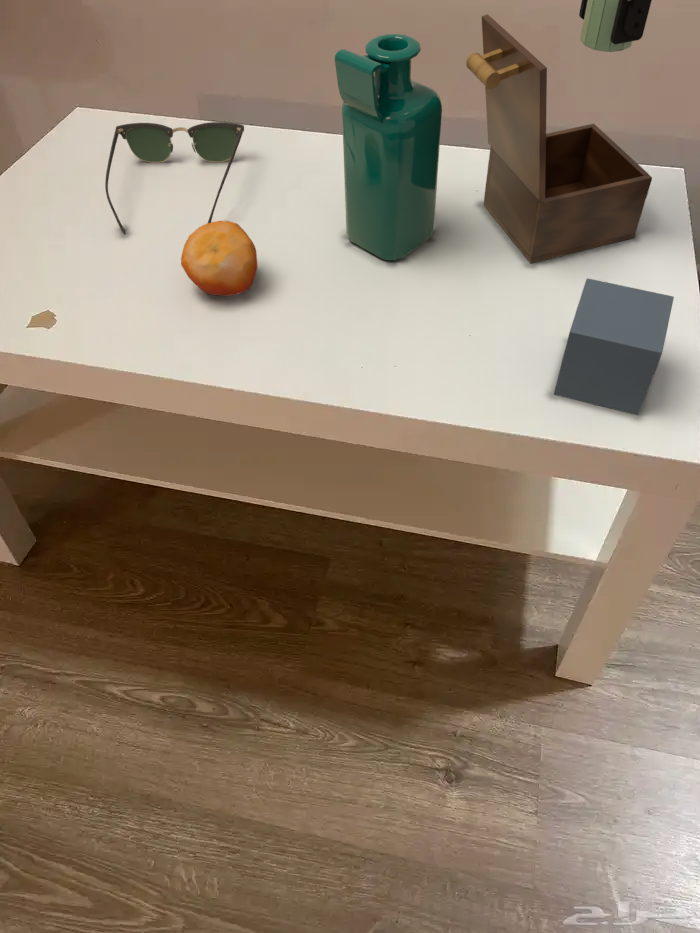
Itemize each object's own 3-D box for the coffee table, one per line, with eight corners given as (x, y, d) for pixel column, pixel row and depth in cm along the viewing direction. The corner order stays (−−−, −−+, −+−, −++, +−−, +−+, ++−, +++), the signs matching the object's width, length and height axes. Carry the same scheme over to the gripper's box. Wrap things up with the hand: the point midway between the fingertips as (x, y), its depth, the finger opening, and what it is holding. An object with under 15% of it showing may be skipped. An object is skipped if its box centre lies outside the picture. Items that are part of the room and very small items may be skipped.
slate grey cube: (650, 359, 78) (674, 296, 72) (638, 415, 74) (662, 352, 68) (570, 341, 80) (586, 277, 74) (553, 394, 76) (569, 331, 69)
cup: (635, 33, 79) (654, -40, 74) (627, 55, 76) (646, -20, 71) (585, 26, 80) (600, -46, 75) (576, 47, 77) (590, -26, 72)
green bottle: (387, 206, 96) (390, 13, 79) (440, 234, 92) (455, 38, 75) (331, 242, 92) (320, 47, 74) (384, 273, 88) (386, 74, 71)
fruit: (268, 243, 89) (254, 211, 82) (262, 310, 88) (247, 284, 81) (199, 240, 90) (179, 208, 82) (192, 306, 89) (171, 281, 81)
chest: (580, 182, 98) (594, 123, 92) (634, 237, 91) (652, 177, 85) (483, 204, 96) (490, 145, 90) (530, 263, 88) (541, 203, 82)
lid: (487, 13, 78) (448, 28, 78) (547, 67, 71) (503, 84, 71) (493, 141, 89) (458, 154, 89) (545, 198, 82) (507, 213, 82)
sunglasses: (96, 234, 94) (84, 197, 90) (126, 158, 104) (116, 122, 100) (233, 234, 93) (227, 196, 89) (249, 157, 104) (244, 121, 100)
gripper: (771, -192, 58) (693, 59, 73) (645, -239, 68) (598, -11, 83) (684, -180, 57) (622, 73, 71) (568, -230, 67) (534, 1, 81)
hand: (609, 26), depth 77 cm, fingers closed on cup, 5 cm apart
